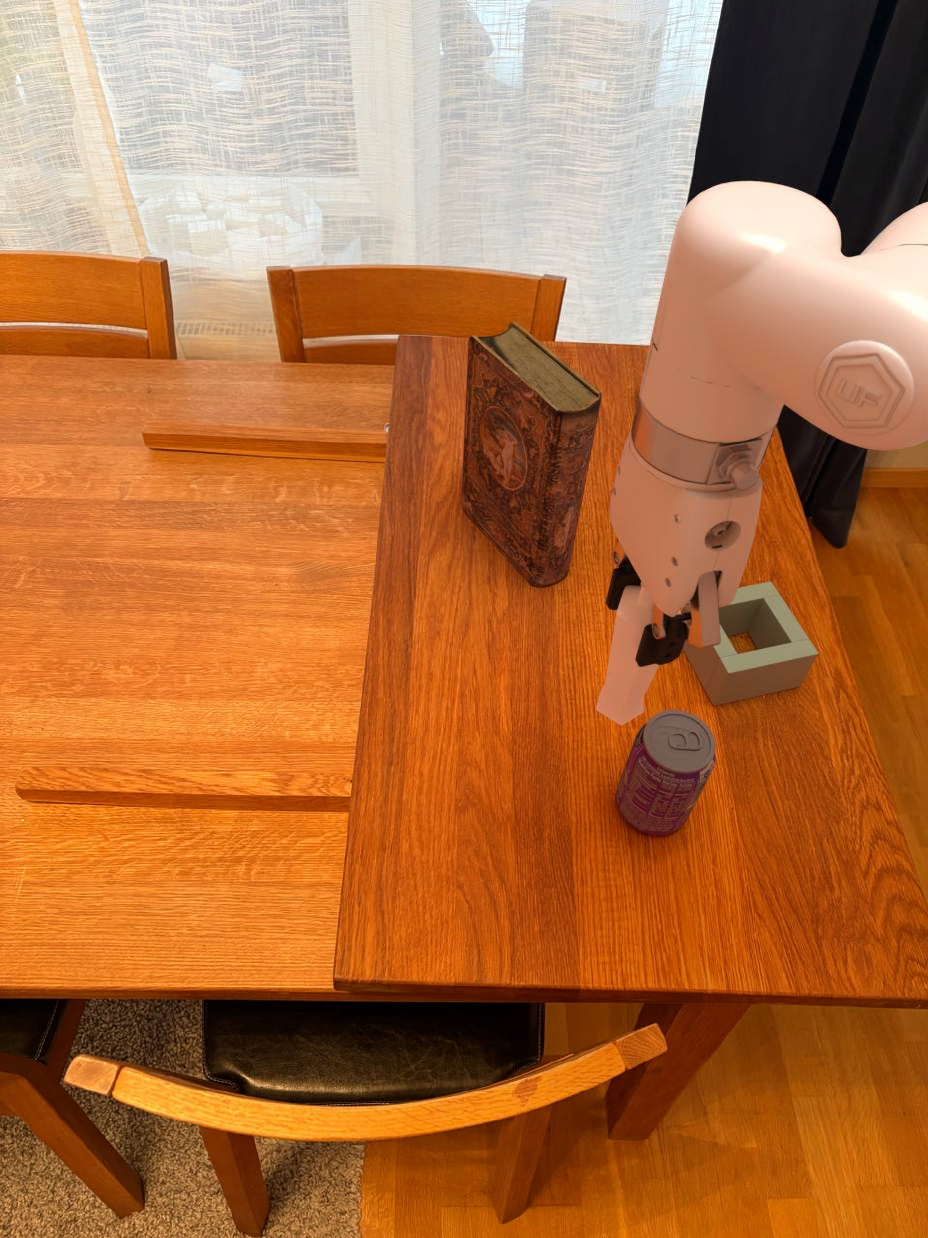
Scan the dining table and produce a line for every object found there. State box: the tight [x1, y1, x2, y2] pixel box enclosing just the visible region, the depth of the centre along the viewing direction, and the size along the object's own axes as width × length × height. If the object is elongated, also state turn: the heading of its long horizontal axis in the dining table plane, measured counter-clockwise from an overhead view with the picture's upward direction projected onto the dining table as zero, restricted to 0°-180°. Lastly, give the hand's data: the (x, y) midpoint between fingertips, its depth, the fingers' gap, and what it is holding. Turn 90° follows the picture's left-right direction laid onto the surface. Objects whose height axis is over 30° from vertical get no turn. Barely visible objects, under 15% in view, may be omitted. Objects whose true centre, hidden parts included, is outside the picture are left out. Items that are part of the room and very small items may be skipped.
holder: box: [680, 581, 820, 707], centre depth 92 cm, size 10×10×6 cm
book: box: [461, 320, 603, 589], centre depth 95 cm, size 16×6×25 cm, turn 33°
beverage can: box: [615, 709, 717, 836], centre depth 78 cm, size 7×7×12 cm
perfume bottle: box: [595, 581, 681, 726], centre depth 63 cm, size 5×4×15 cm
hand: (641, 629), depth 62 cm, fingers closed on perfume bottle, 4 cm apart
